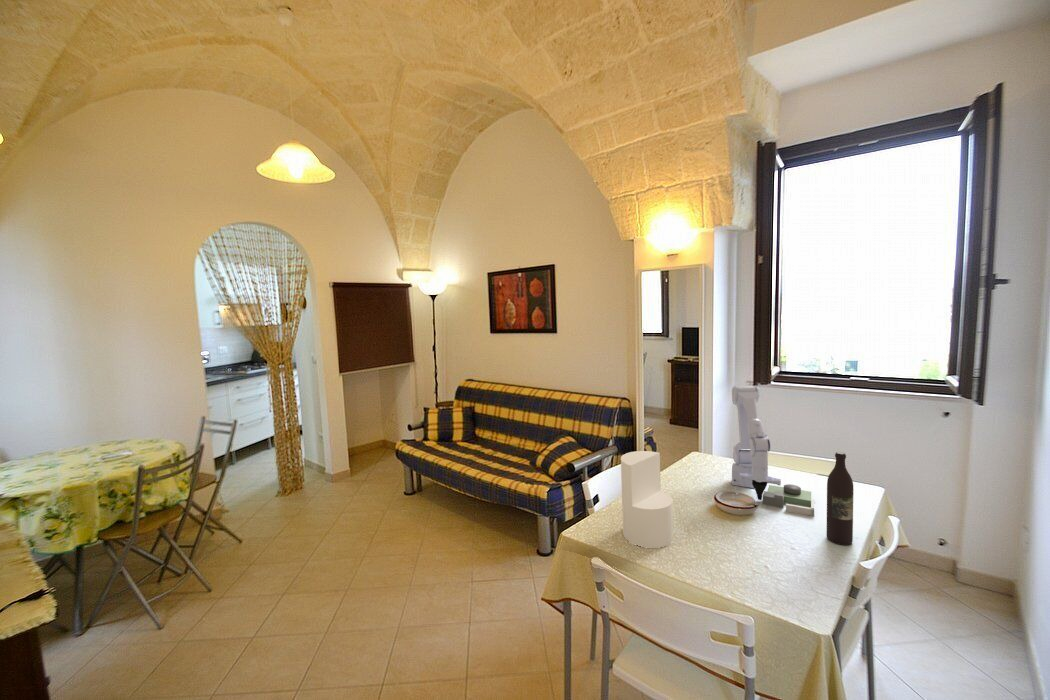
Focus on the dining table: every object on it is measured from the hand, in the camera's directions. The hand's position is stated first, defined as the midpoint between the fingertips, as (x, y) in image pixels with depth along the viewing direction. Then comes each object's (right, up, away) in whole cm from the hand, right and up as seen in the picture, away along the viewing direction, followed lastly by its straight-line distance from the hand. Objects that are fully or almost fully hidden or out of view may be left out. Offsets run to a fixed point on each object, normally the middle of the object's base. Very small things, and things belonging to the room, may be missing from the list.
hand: (759, 498), depth 174 cm
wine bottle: (+10, -3, -31) cm, 32 cm away
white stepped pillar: (-52, -6, -21) cm, 56 cm away
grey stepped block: (+4, -1, -3) cm, 5 cm away
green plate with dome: (+11, -1, -2) cm, 11 cm away
